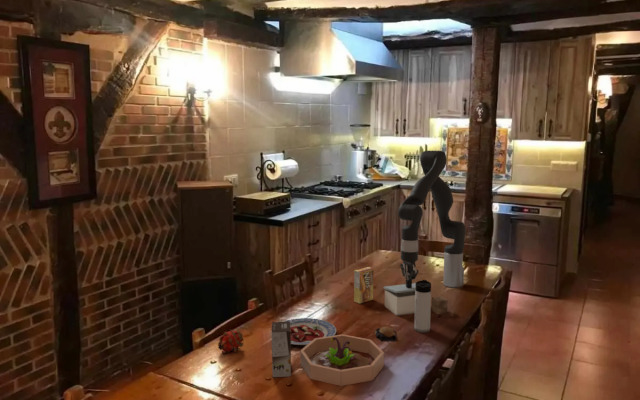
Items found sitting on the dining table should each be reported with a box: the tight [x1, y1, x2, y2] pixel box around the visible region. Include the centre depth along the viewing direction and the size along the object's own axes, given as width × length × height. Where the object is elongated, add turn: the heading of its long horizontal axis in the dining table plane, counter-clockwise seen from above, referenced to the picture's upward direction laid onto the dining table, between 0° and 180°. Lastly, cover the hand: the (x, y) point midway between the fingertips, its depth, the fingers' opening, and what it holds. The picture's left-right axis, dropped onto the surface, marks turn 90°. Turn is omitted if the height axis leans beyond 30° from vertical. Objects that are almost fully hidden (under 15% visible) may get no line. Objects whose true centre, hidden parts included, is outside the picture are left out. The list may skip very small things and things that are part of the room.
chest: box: [384, 289, 415, 316], centre depth 239 cm, size 16×12×8 cm
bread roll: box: [374, 326, 398, 342], centre depth 211 cm, size 11×8×4 cm
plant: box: [310, 337, 371, 370], centre depth 184 cm, size 20×20×11 cm
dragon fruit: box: [217, 329, 245, 354], centre depth 198 cm, size 8×8×12 cm
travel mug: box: [413, 279, 432, 333], centre depth 215 cm, size 6×7×20 cm
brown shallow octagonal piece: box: [300, 333, 385, 387], centre depth 186 cm, size 27×27×5 cm
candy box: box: [353, 266, 374, 304], centre depth 249 cm, size 9×4×15 cm, turn 129°
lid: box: [382, 282, 416, 293], centre depth 239 cm, size 17×13×1 cm
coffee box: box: [271, 320, 292, 378], centre depth 181 cm, size 9×6×16 cm
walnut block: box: [431, 295, 449, 315], centre depth 236 cm, size 5×5×6 cm
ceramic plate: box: [270, 317, 337, 346], centre depth 212 cm, size 26×26×3 cm
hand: (408, 287), depth 236 cm, fingers closed
